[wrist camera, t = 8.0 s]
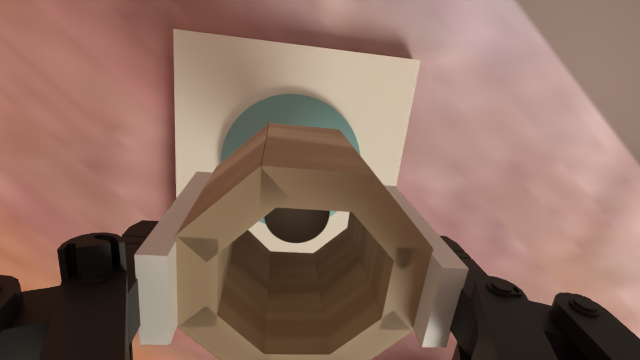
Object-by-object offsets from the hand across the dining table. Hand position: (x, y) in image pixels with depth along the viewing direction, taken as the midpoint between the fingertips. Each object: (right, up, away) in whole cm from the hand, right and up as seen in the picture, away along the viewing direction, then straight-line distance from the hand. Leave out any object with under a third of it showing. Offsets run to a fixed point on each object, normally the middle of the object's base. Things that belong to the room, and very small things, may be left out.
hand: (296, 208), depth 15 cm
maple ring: (0, 0, 0) cm, 0 cm away
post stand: (-1, +3, +8) cm, 8 cm away
